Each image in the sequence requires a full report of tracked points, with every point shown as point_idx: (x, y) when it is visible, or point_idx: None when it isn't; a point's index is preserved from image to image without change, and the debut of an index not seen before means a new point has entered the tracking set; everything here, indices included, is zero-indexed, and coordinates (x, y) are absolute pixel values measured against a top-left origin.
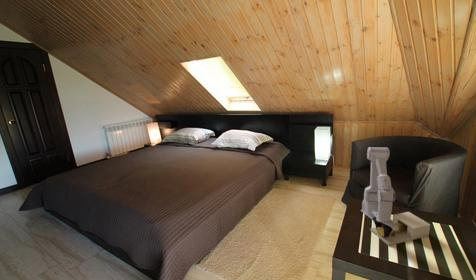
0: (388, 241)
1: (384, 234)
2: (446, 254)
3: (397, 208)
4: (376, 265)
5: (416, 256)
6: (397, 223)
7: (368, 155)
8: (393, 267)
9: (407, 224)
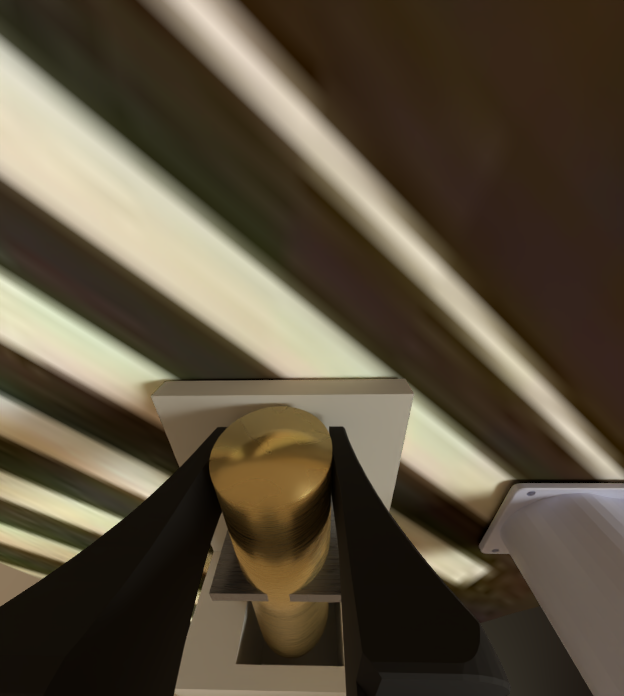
0: (184, 415)
1: (202, 454)
2: None
3: (481, 616)
4: None
5: (62, 465)
6: (297, 638)
7: None
8: None
9: (236, 686)
